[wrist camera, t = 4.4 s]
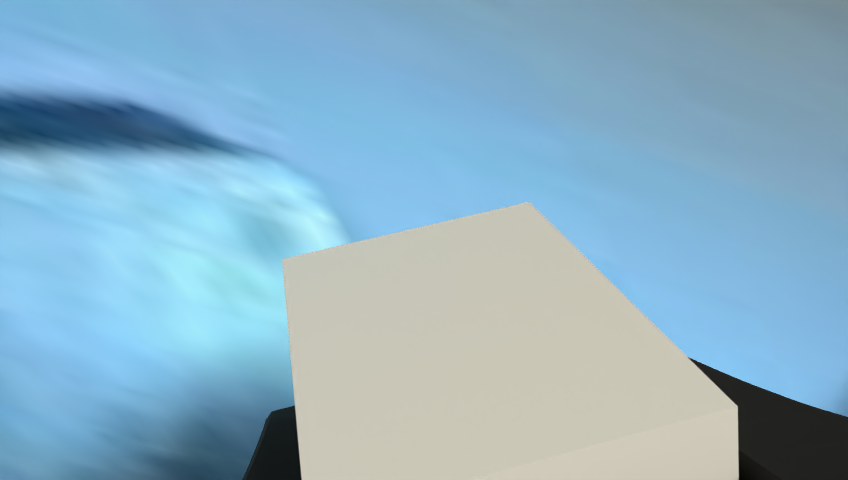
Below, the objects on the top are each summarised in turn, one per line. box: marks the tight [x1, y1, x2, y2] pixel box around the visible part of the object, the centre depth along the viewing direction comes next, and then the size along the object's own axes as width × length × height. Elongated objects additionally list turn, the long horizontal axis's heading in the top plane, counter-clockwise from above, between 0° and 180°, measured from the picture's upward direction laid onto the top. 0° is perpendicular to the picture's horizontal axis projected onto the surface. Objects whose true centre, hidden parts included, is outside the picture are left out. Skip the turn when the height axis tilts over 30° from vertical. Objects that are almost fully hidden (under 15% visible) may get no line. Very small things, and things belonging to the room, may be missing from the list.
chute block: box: [282, 202, 739, 480], centre depth 11 cm, size 4×5×6 cm
